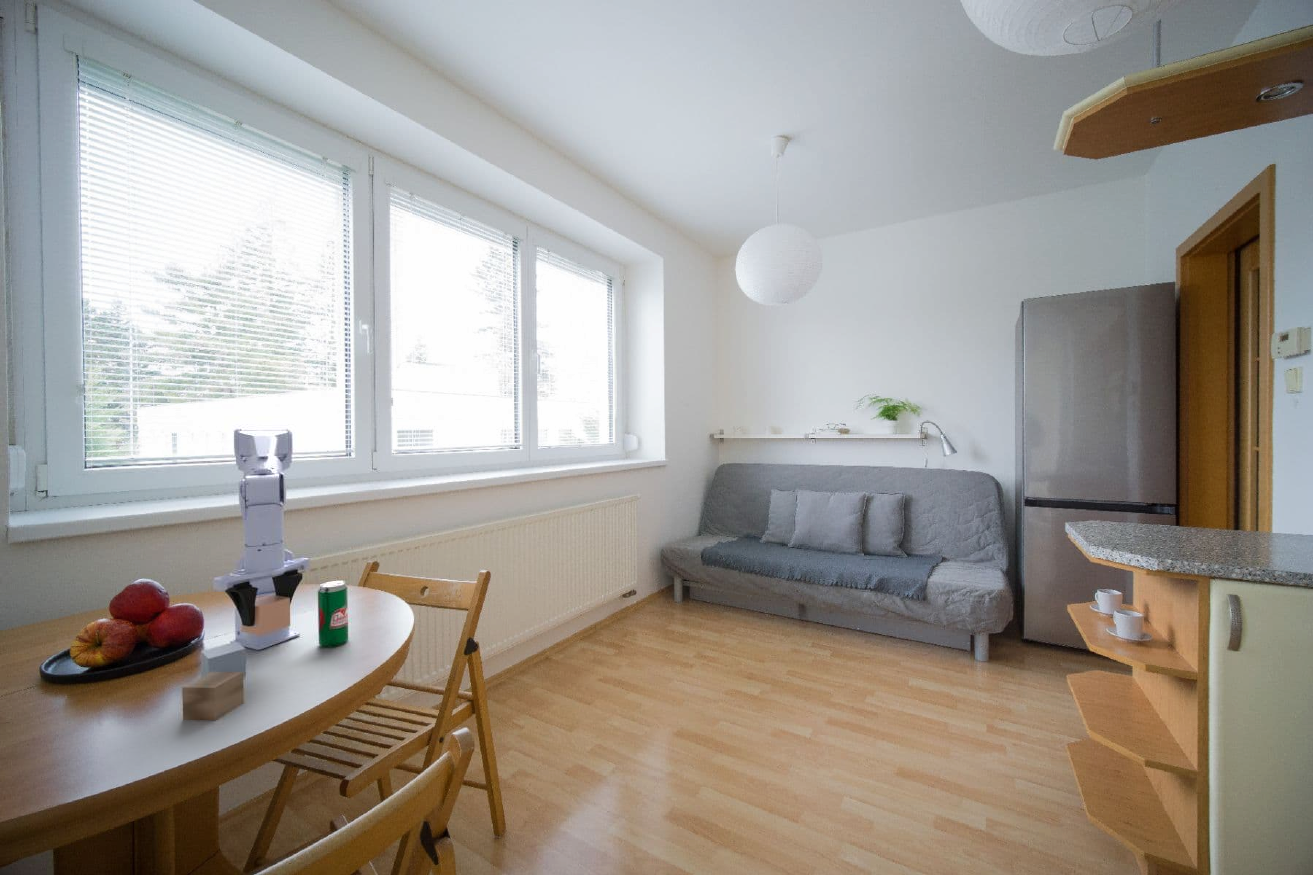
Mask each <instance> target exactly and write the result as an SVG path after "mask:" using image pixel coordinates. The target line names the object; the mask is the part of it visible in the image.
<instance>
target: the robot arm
mask: <svg viewBox="0 0 1313 875" xmlns="http://www.w3.org/2000/svg"><path fill="white" fill-rule="evenodd" d="M233 451H234V456H235V465H237V469H238V471H241V472H243V478H242V479H241V478H240V479H239V481H238V503H239V508H240V511H241V520H243V522H242V534H243V535H242V536H243V539H242V540H243V542H242V544H243V555H242V556H241V557H240V558H239V559H238V561H237V562H236V566H235V568H236V569H235V571H234V572H231V573H229V574H224V575H221V576H218V577H214V578H213V581H212V582H213V590H214V591H218V592H223V591H224V592H225V593H226V594H227V595H228V597H229V598H230V600H231V601H232V602H233V605H234V606H235V609H234V624H235V625H234V627H235V628H234V629H235V630H234V634H235V636H234V637H235V638H234V639H231V640H230V643H233V642H238V643H240V644H241V645H242V646H243V647H244V648H248V649H253V650H258V651H259V650H263V649H265V648H268V647H271V646H274V645H276V644H280V643H282V642H285V641H288V640H290V639H293V638H296V637H299V636H300V634H301V633H300V632H297V631H293V630H290V629H291V628H290V627H291V625H290V626H287V627H285V628H282V629H279V630H276V631H273V632H270V633H267V634H264V635H261V636H258V635H254V634H250V633H245V632H242V624H243V625H244V626H248V627H251V626H254V622H255V600H256V599H258V598H261V597H265V596H268V595H278V596H283V597H288V598H290V605H291V603H292V600H293V597H294V594H295V592H296V590H297V588H298V586H299V585H300V583H301V581H302V580H303V573H302V572H299V571H302V570H303V571H307V570H309V569H311V561H310V558H306V557H300V558H295V555H294V552H292V551H290V550H289V549H285V520H284V519H285V518H284V515H285V514H284V506H286V502H287V481H286V477H285V474H284V471H286V470H288V469H290V468H291V464H292V463H293V462H292V461H293V460H292V458H293V455H292V454H293V430H292V428H290V427H289V426H287V427H256V428H255V427H244V428H243V427H242V428H241V427H236V429H235V430H234V432H233ZM281 503H282V504H283V505H282V504H281Z"/></svg>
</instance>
